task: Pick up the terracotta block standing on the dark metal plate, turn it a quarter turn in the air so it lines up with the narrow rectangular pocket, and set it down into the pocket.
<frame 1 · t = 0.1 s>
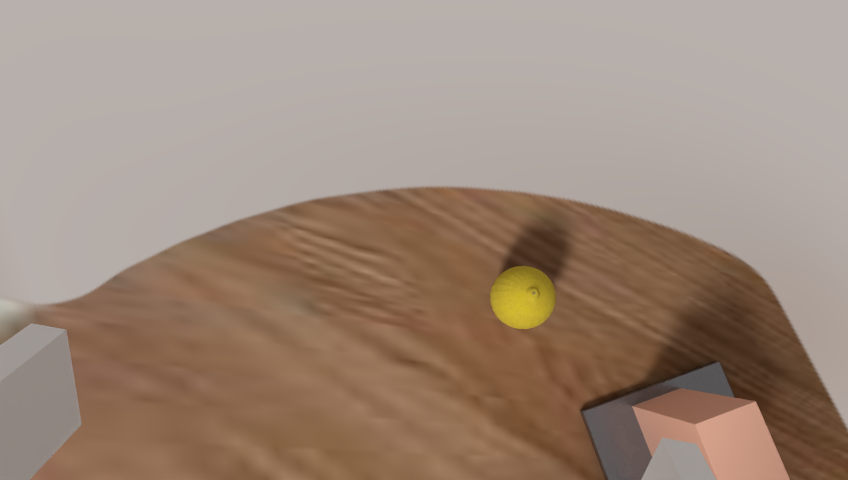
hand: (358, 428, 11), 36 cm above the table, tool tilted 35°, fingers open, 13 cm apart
terracotta block: (676, 445, 45), point 1 cm above the table, touching pocket plate
lemon: (511, 300, 48), on the table
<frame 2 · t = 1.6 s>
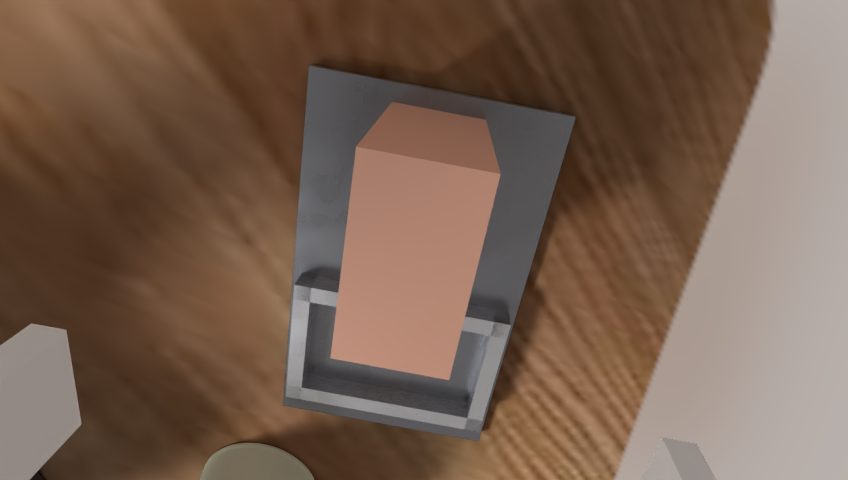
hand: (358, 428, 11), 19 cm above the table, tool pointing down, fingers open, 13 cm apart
pocket plate: (408, 277, 31), on the table
terracotta block: (424, 191, 28), point 1 cm above the table, touching pocket plate
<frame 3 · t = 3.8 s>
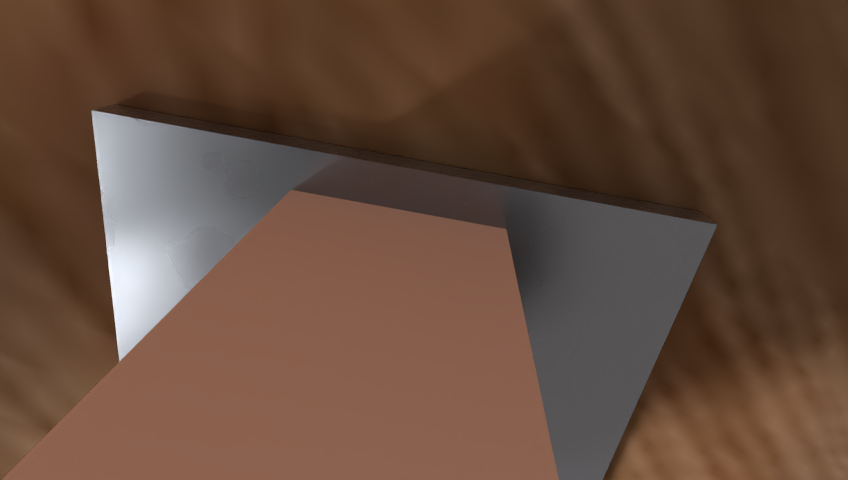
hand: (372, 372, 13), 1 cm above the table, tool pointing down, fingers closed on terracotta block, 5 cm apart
terracotta block: (374, 365, 13), point 1 cm above the table, touching gripper, pocket plate
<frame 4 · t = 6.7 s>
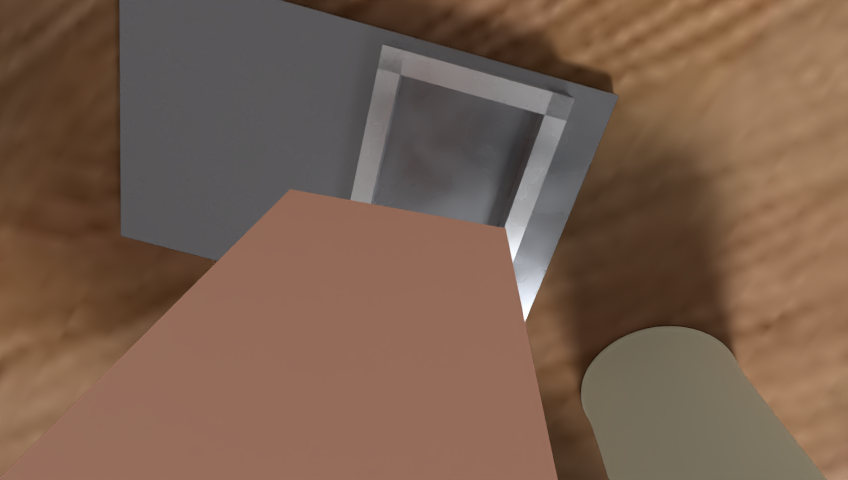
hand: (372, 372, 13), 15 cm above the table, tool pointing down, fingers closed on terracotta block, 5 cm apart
pocket plate: (348, 168, 26), on the table
terracotta block: (373, 364, 13), point 14 cm above the table, touching gripper
can: (656, 385, 30), on the table
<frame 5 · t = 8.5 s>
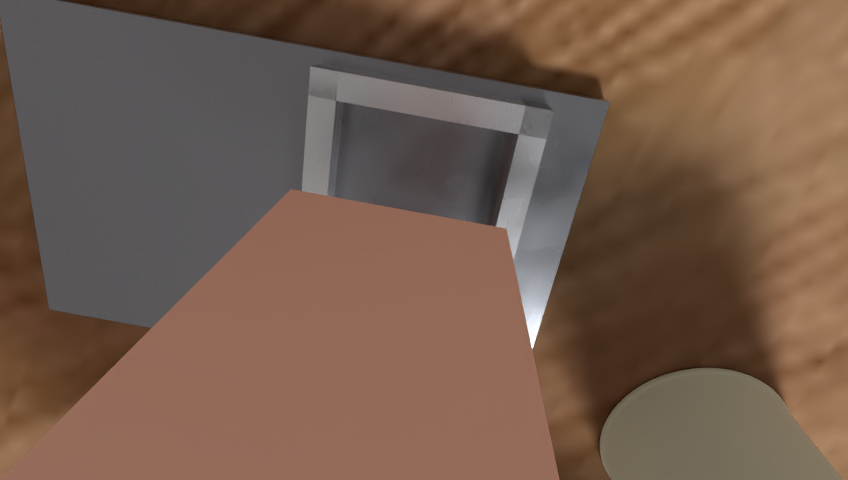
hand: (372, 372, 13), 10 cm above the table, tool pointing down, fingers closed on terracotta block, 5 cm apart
pocket plate: (297, 213, 22), on the table
terracotta block: (374, 365, 13), point 9 cm above the table, touching gripper
can: (690, 436, 26), on the table
when the fingers open (4 cm above the table, at t = 9.8 s): terracotta block drops 3 cm, resting on pocket plate.
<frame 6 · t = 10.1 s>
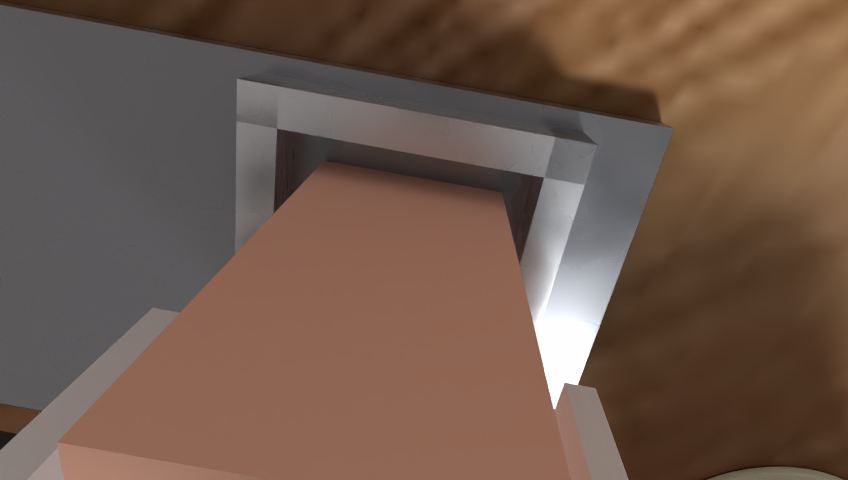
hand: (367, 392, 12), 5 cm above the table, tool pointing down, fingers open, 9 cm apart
pocket plate: (241, 271, 16), on the table
terracotta block: (391, 312, 16), point 1 cm above the table, touching pocket plate
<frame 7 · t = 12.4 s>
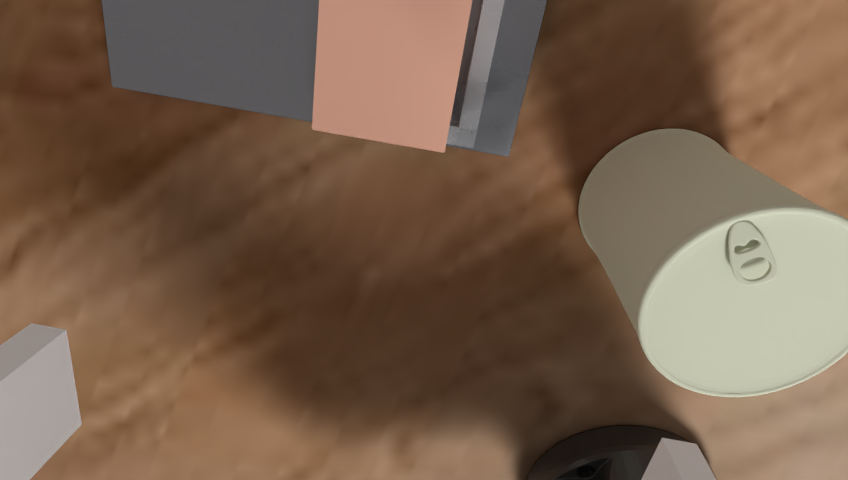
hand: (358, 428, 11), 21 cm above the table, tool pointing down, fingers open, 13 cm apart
terracotta block: (417, 4, 25), point 1 cm above the table, touching pocket plate
can: (654, 202, 30), on the table
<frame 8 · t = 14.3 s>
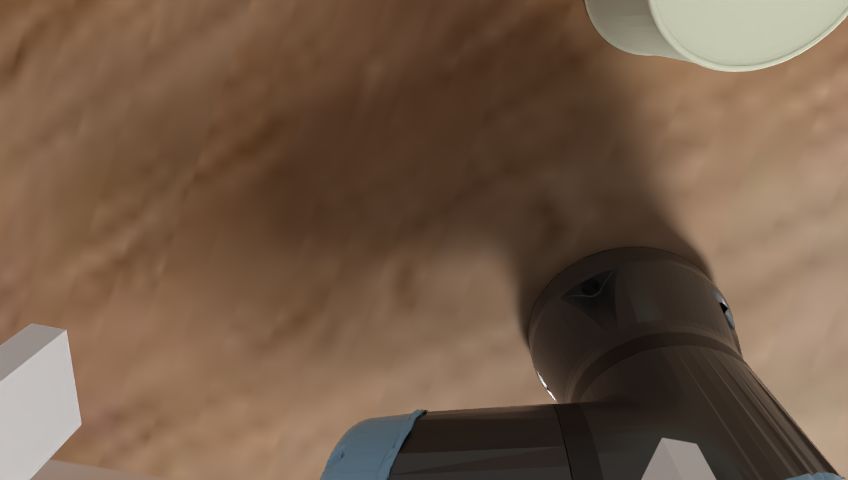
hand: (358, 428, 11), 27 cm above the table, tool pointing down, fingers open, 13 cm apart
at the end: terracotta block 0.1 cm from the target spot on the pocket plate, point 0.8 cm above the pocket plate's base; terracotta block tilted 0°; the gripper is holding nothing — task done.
